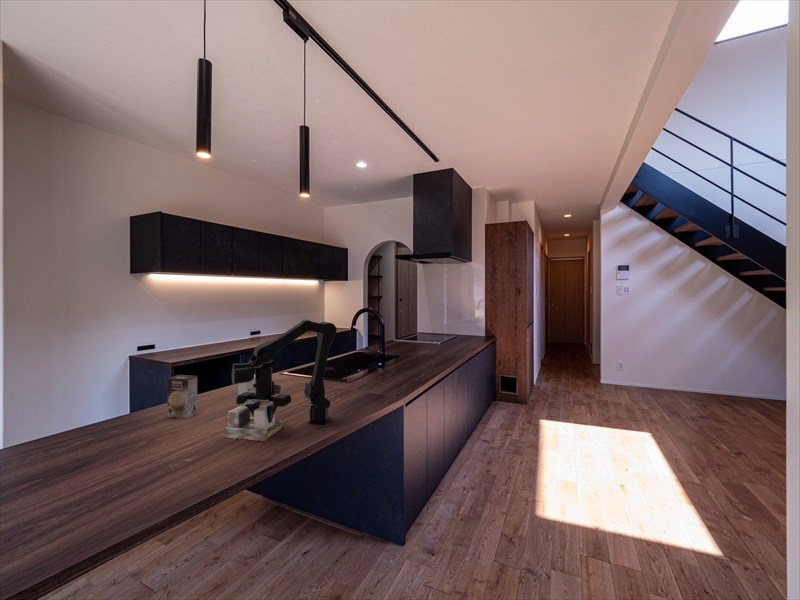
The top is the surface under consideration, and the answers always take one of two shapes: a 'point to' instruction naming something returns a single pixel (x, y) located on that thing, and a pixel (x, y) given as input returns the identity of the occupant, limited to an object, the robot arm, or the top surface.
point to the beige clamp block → (247, 426)
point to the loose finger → (262, 418)
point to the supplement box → (246, 388)
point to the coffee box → (182, 396)
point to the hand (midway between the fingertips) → (264, 422)
